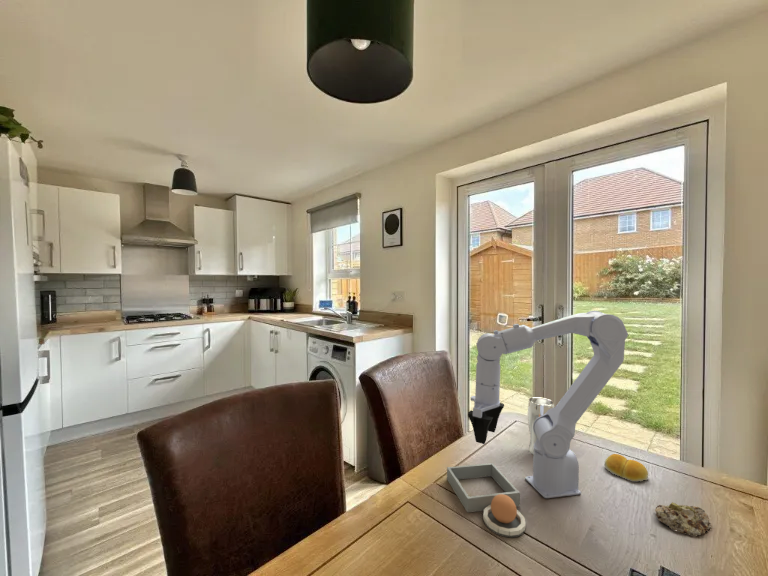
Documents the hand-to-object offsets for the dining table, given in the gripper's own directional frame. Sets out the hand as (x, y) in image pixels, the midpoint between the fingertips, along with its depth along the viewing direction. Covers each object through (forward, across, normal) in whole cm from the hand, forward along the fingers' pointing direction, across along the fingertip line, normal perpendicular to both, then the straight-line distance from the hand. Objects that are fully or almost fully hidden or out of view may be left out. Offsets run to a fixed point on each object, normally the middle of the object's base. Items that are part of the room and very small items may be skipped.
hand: (485, 436), depth 85 cm
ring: (+10, +13, +9) cm, 19 cm away
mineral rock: (+10, -8, +39) cm, 41 cm away
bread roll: (+10, -24, +29) cm, 39 cm away
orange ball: (+7, +13, +8) cm, 17 cm away
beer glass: (+10, -22, +9) cm, 26 cm away
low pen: (+10, +6, +1) cm, 12 cm away
